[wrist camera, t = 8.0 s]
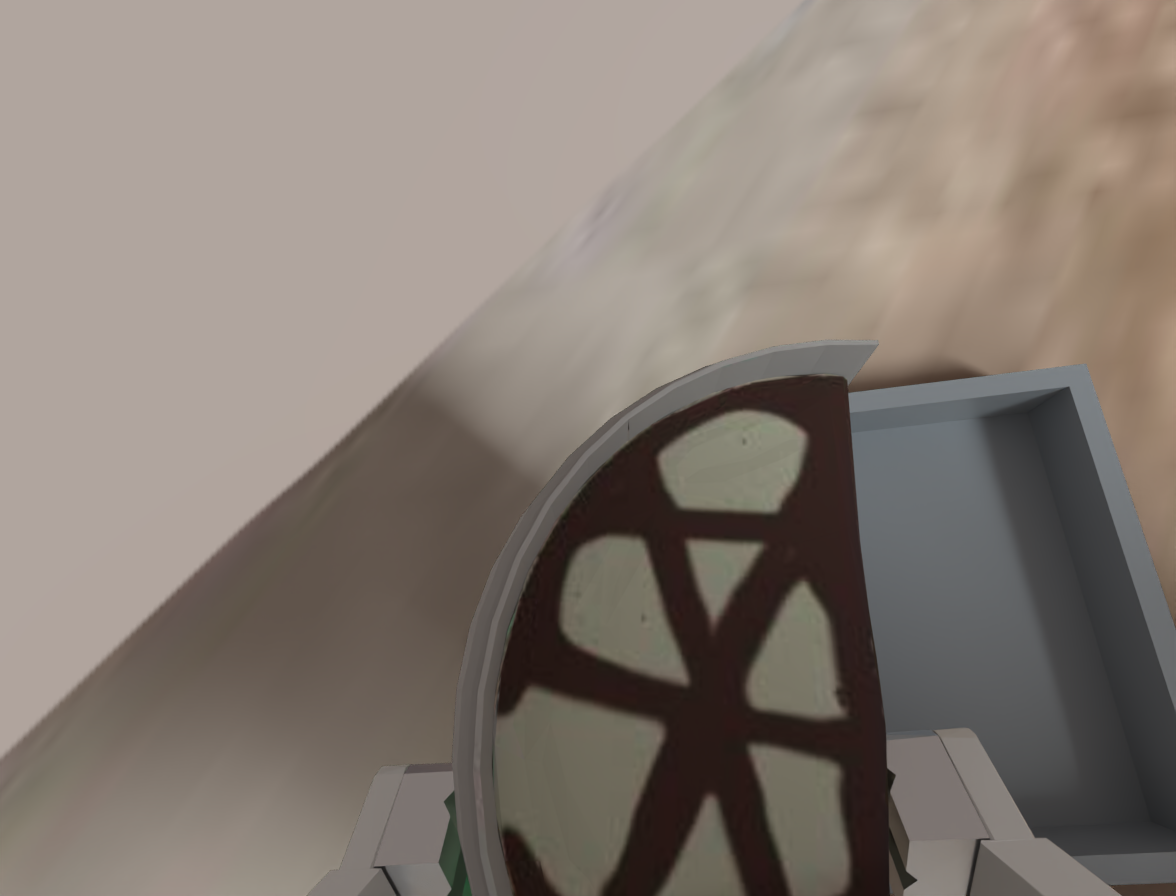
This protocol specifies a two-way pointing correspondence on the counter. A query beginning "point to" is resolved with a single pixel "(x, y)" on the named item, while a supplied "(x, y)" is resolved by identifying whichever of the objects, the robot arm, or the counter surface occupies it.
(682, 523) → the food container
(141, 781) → the counter surface
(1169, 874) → the tray
